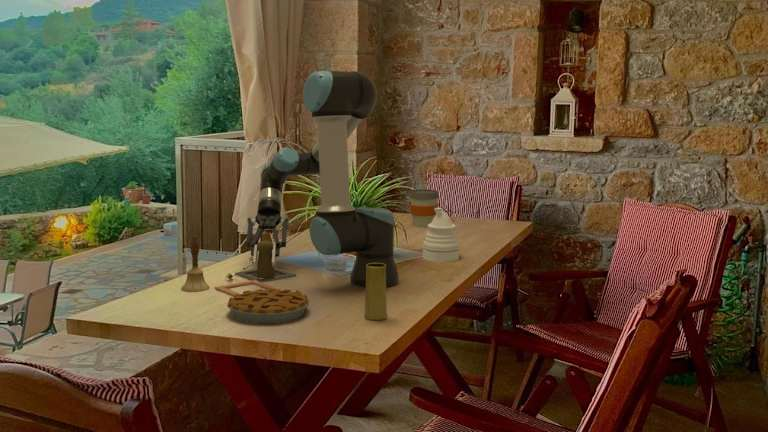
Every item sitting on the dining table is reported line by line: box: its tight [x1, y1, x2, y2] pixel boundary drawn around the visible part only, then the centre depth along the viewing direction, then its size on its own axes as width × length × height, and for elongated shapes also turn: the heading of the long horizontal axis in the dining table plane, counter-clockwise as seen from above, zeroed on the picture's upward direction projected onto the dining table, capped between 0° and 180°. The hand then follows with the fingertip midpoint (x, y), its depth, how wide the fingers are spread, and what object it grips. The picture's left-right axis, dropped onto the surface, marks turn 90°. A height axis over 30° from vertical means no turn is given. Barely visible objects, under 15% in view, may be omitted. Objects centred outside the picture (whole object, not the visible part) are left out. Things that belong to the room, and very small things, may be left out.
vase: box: [364, 263, 388, 321], centre depth 213 cm, size 6×6×14 cm
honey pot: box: [422, 207, 460, 263], centre depth 285 cm, size 13×13×18 cm
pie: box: [226, 288, 310, 324], centre depth 216 cm, size 22×22×5 cm
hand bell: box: [180, 235, 210, 293], centre depth 240 cm, size 8×8×16 cm
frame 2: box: [234, 266, 297, 283], centre depth 258 cm, size 14×14×1 cm
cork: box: [255, 240, 276, 278], centre depth 257 cm, size 6×6×11 cm
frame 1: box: [214, 280, 281, 298], centre depth 240 cm, size 14×14×1 cm
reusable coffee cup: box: [409, 188, 440, 228], centre depth 348 cm, size 13×13×15 cm
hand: (264, 264), depth 253 cm, fingers closed on cork, 5 cm apart
